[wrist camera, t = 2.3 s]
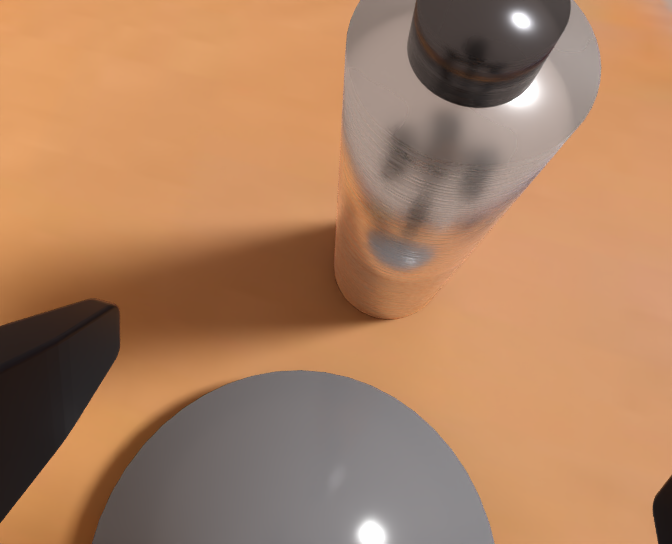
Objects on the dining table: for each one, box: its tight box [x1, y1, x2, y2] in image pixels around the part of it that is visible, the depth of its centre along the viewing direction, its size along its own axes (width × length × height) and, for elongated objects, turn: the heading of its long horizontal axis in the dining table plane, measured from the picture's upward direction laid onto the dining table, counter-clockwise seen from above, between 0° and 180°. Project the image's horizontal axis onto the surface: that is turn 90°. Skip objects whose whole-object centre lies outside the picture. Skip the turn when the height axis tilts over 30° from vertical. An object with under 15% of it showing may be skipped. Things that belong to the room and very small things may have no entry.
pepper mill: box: [334, 0, 601, 319], centre depth 15 cm, size 5×5×14 cm
